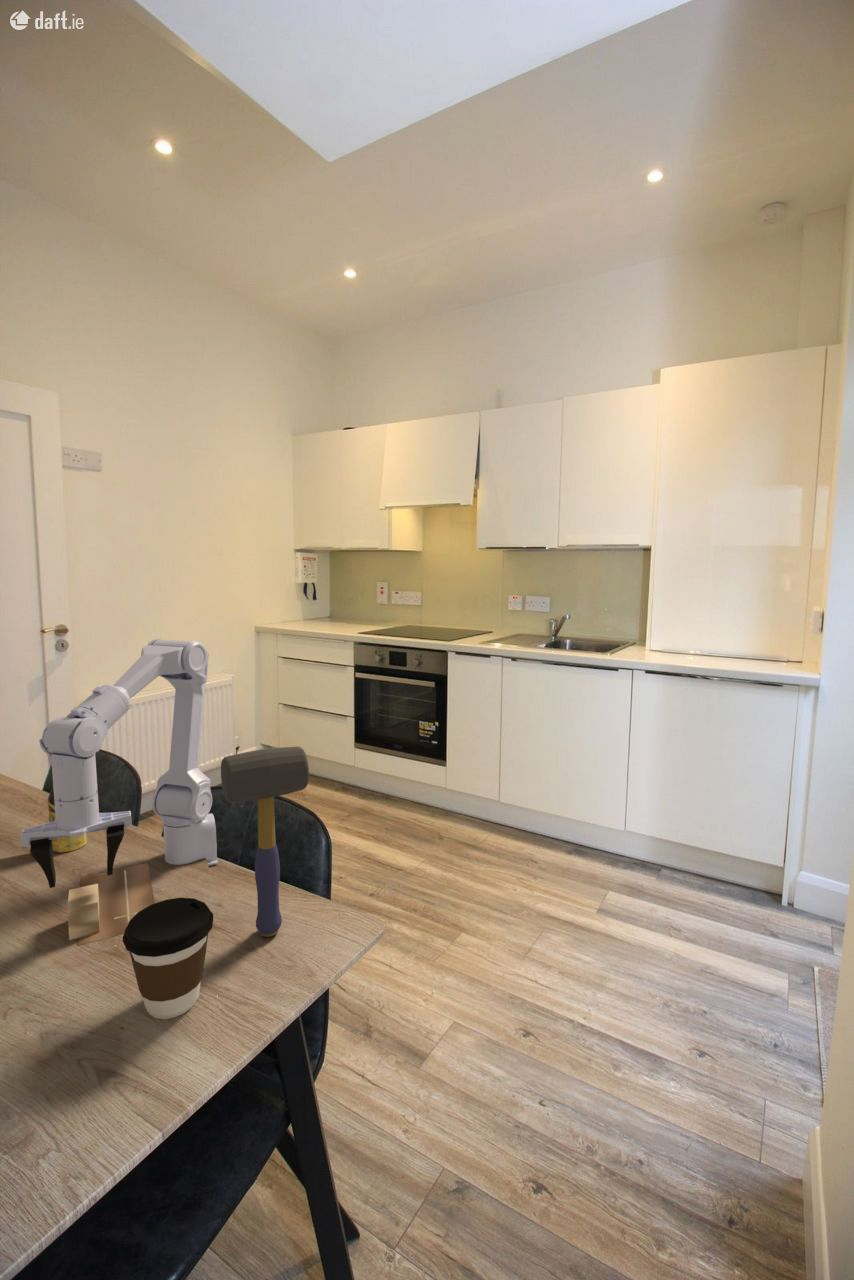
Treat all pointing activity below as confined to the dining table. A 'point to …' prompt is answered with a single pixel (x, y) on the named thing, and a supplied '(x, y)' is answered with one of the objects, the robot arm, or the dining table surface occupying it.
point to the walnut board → (119, 899)
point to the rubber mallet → (265, 814)
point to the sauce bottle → (65, 842)
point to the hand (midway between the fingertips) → (81, 878)
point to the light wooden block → (83, 911)
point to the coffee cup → (169, 953)
